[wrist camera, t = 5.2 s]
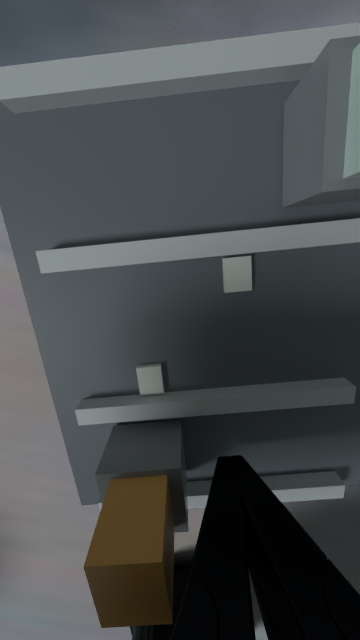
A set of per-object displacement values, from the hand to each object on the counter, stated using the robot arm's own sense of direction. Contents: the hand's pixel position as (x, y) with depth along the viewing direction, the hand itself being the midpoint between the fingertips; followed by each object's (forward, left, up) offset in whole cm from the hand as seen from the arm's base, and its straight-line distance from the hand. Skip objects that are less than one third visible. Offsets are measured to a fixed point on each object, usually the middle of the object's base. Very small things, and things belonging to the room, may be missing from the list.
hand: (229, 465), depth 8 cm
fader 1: (0, +3, -1) cm, 3 cm away
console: (+5, 0, -2) cm, 5 cm away
